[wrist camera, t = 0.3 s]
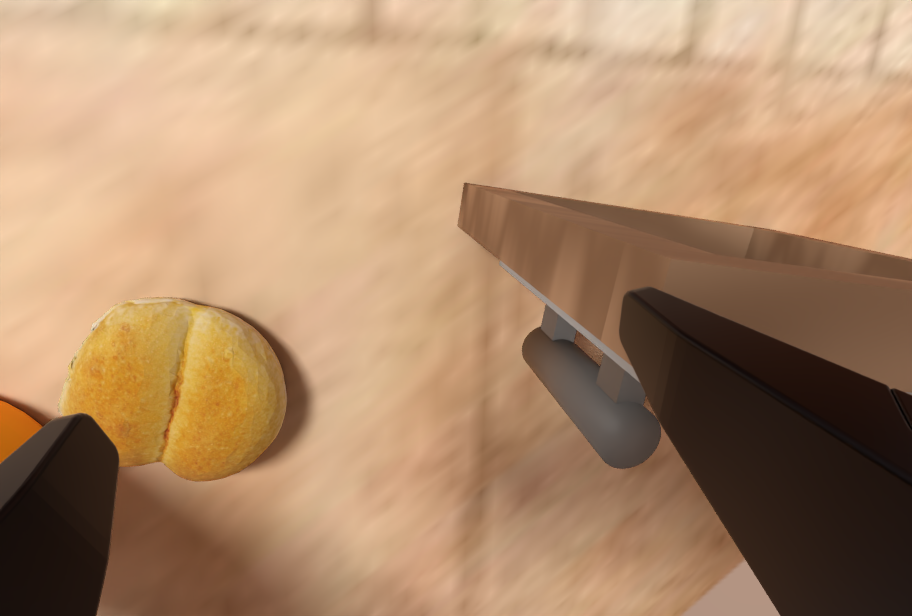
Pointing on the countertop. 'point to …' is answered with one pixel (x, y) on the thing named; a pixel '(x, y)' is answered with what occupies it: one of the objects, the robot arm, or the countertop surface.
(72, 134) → the countertop surface
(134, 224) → the countertop surface
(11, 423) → the beer bottle
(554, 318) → the door
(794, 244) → the door frame
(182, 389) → the bread roll
